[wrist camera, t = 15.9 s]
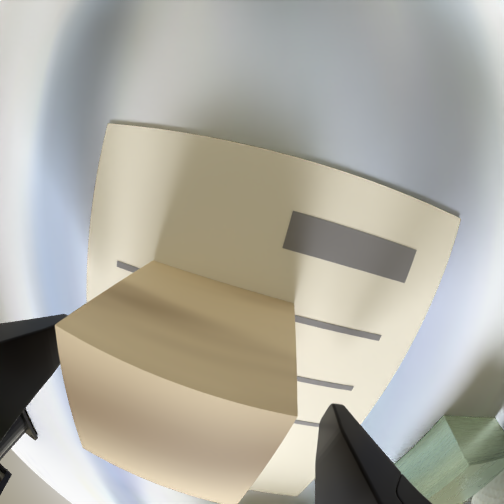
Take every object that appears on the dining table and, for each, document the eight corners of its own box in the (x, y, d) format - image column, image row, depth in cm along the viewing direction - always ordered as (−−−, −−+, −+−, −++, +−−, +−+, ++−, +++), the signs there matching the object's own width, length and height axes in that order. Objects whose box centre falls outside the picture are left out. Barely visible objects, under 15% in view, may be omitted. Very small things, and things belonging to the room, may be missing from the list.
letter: (296, 495, 12) (296, 496, 12) (104, 438, 13) (103, 439, 13) (459, 218, 8) (461, 219, 8) (109, 123, 8) (107, 123, 8)
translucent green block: (438, 472, 11) (451, 511, 8) (376, 475, 12) (385, 525, 8) (496, 414, 10) (520, 453, 6) (442, 411, 10) (469, 465, 6)
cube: (254, 405, 10) (235, 506, 6) (141, 367, 11) (83, 448, 6) (294, 303, 9) (297, 416, 4) (153, 260, 9) (54, 324, 4)
